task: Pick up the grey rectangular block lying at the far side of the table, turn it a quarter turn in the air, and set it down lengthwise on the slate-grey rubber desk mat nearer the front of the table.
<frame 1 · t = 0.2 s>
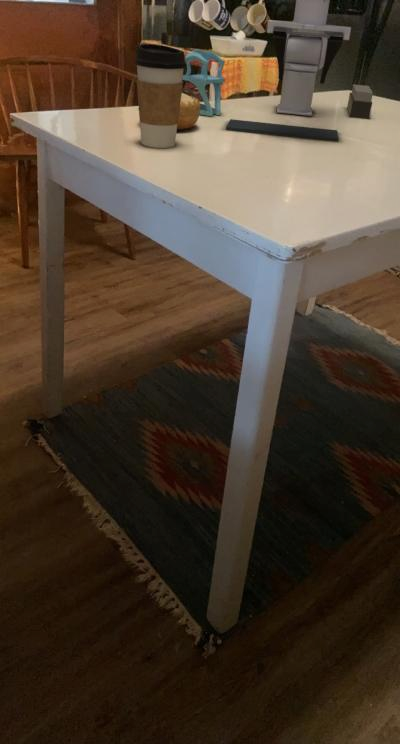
hand: (301, 80, 112), 10 cm above the table, tool pointing down, fingers open, 7 cm apart
grey rectangular block: (357, 113, 145), on the table
desk mat: (282, 131, 121), on the table
chair: (201, 113, 132), on the table
pastry: (168, 127, 118), on the table
coffee cup: (158, 145, 106), on the table
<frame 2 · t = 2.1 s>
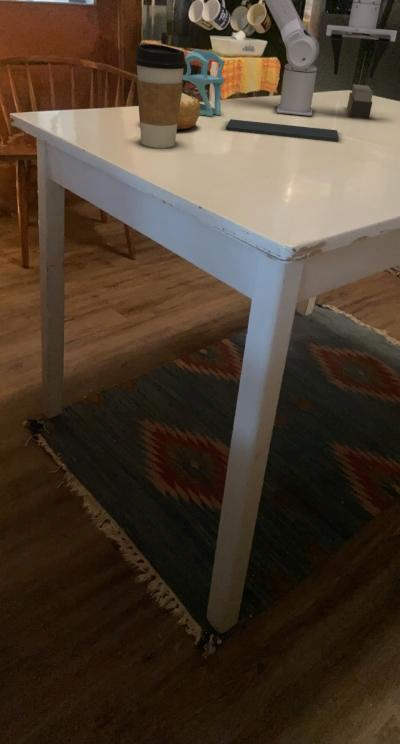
hand: (352, 75, 133), 9 cm above the table, tool pointing down, fingers open, 7 cm apart
nothing on the table moved.
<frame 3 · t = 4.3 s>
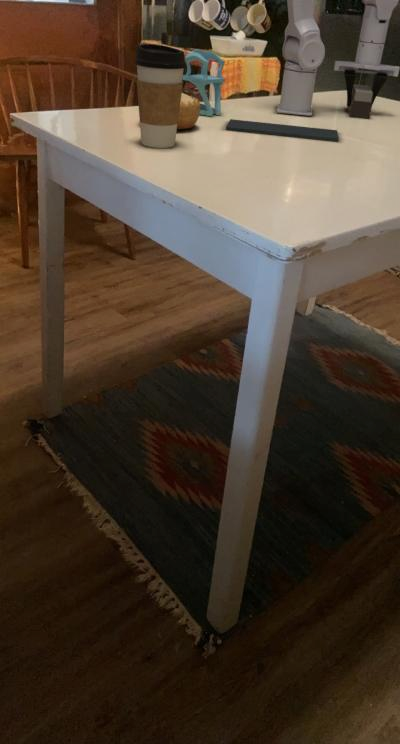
hand: (358, 106, 144), 1 cm above the table, tool pointing down, fingers closed on grey rectangular block, 4 cm apart
grey rectangular block: (357, 113, 145), on the table, touching gripper
everything else where it was.
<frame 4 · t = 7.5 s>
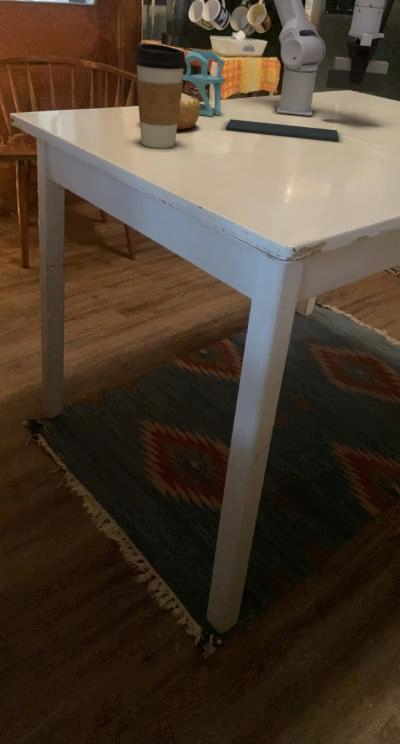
hand: (354, 81, 129), 8 cm above the table, tool pointing down, fingers closed on grey rectangular block, 4 cm apart
grey rectangular block: (353, 88, 130), point 7 cm above the table, touching gripper
everything else where it was.
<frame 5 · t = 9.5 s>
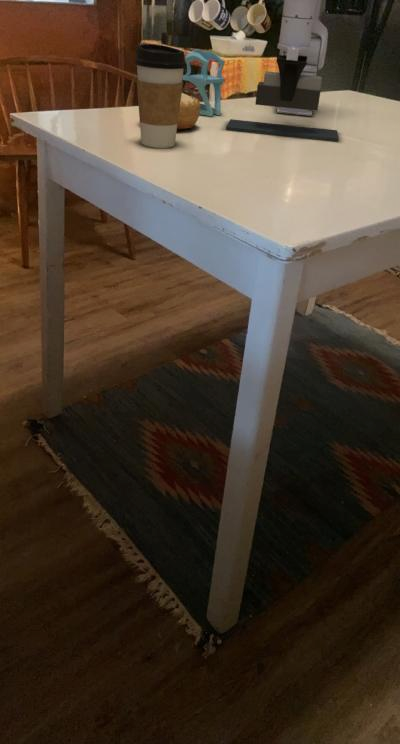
hand: (286, 98, 118), 6 cm above the table, tool pointing down, fingers closed on grey rectangular block, 4 cm apart
grey rectangular block: (286, 105, 119), point 5 cm above the table, touching gripper
everything else where it was.
when the fingers open (2 cm above the table, at t = 11.0 s): grey rectangular block stays where it is, resting on desk mat.
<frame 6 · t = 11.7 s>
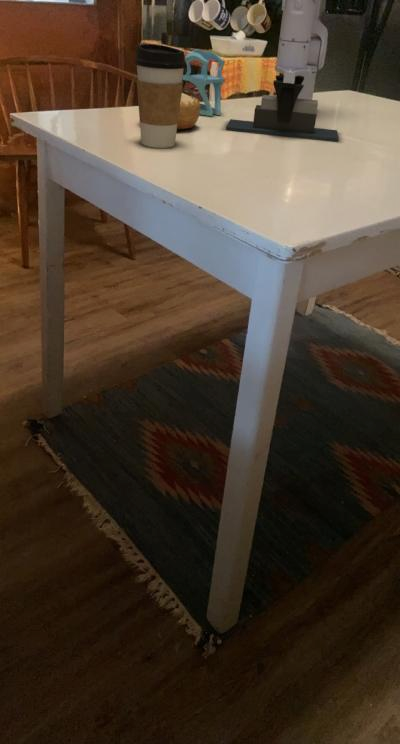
hand: (284, 118, 120), 2 cm above the table, tool pointing down, fingers open, 7 cm apart
grey rectangular block: (283, 128, 121), point 1 cm above the table, touching desk mat
everything else where it was.
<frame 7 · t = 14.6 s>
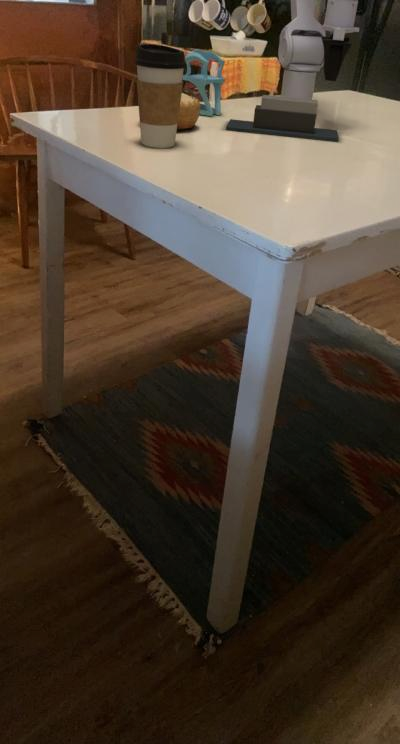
hand: (329, 78, 123), 9 cm above the table, tool pointing down, fingers open, 7 cm apart
nothing on the table moved.
at the end: grey rectangular block inside the target area on the desk mat (0.1 cm from its centre), point 0.6 cm above the desk mat's base; grey rectangular block tilted 0°; the gripper is holding nothing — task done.
